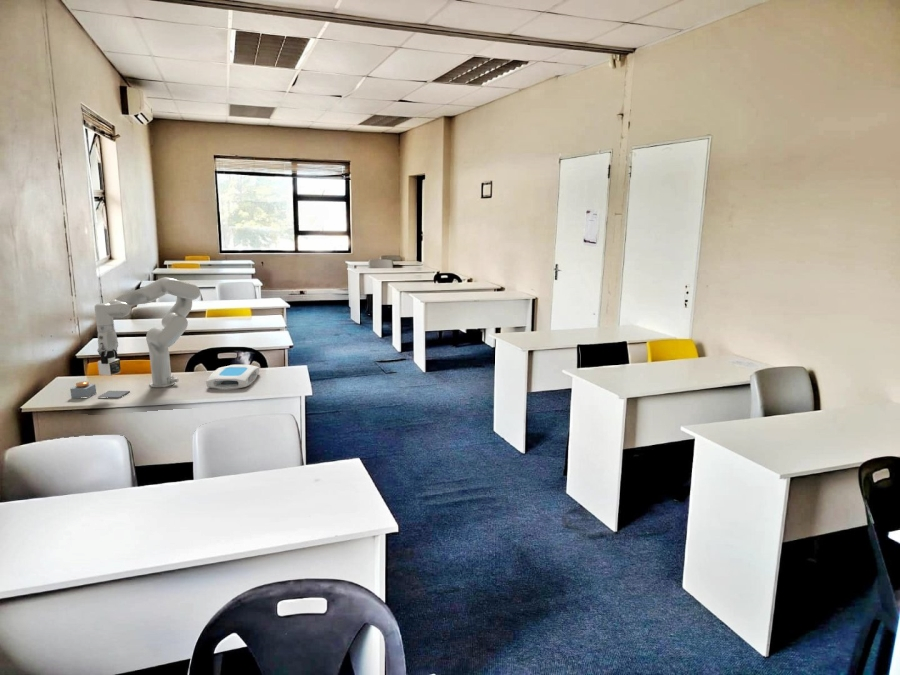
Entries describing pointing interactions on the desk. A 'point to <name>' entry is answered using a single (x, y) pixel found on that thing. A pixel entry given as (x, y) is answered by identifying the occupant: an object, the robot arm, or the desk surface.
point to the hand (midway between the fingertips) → (109, 361)
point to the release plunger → (82, 384)
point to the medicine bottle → (110, 365)
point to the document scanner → (233, 376)
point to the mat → (114, 394)
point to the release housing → (83, 391)
